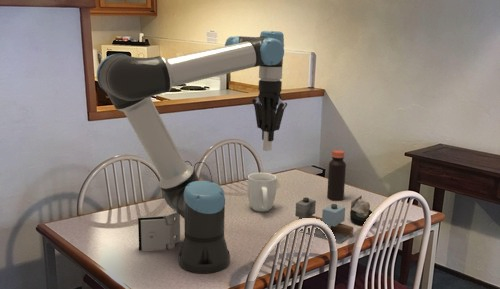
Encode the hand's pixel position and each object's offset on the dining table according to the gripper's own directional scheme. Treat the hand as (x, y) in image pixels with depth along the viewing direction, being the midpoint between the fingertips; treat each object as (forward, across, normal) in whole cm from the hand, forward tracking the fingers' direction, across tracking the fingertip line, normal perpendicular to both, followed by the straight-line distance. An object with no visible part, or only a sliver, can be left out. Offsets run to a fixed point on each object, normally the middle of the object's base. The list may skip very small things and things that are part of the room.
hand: (267, 150), depth 167 cm
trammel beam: (+28, -16, -15) cm, 35 cm away
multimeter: (+29, +32, +2) cm, 43 cm away
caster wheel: (+28, -22, -31) cm, 47 cm away
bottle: (+28, -2, -46) cm, 54 cm away
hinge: (+29, +16, +33) cm, 47 cm away
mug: (+28, +12, -14) cm, 34 cm away
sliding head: (+27, -19, -15) cm, 36 cm away
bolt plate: (+28, -16, -10) cm, 34 cm away
